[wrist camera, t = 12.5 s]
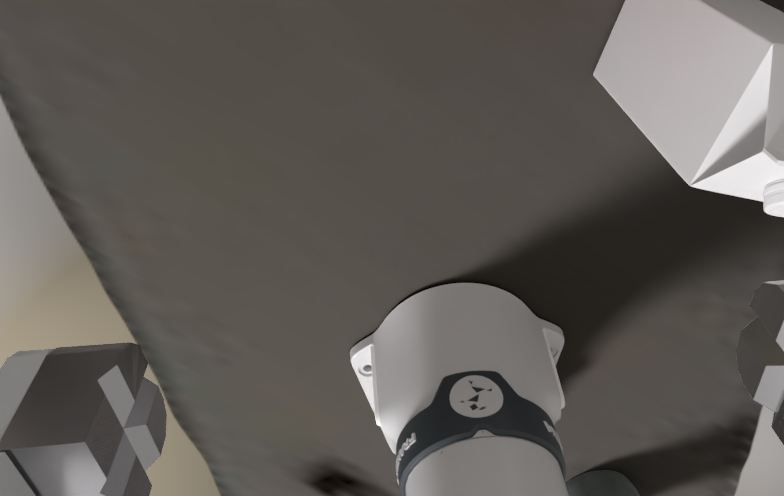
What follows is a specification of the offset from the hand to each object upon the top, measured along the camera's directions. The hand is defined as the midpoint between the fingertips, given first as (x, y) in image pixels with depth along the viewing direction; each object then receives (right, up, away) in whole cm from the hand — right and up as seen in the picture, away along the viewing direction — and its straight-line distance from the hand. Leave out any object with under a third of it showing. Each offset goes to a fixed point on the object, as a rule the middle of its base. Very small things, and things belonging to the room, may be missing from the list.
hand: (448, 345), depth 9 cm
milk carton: (+17, +15, +32) cm, 40 cm away
